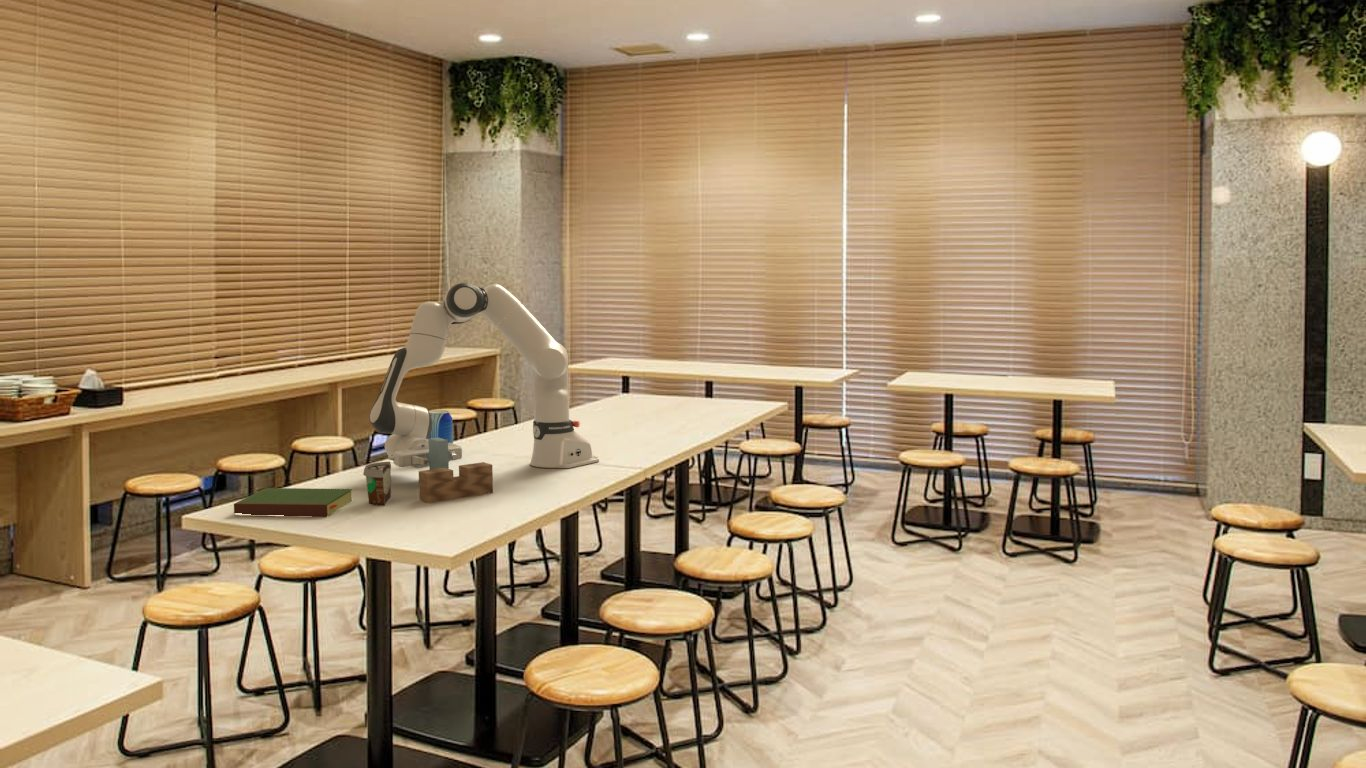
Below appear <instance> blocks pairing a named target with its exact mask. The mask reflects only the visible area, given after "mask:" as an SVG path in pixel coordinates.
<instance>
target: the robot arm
mask: <svg viewBox="0 0 1366 768" xmlns="http://www.w3.org/2000/svg"><path fill="white" fill-rule="evenodd" d="M477 315H480V316H483V317H485V318H486V319H487V320H488V321H489V322H491V323H492V325H493V326H494V327H495V328H496V329H497V330H498V331H499V332H500V333H501V334H502V335H503V337H505V339H506V340H507V341H508V342H509V343H510V344H511V346H513V347H514V348H515V350H516V351H517V352H518V354H519V355H520V356H521V357H522V358H523V359H524V360H525V361H526V363H528V365H529V366H530V367H531V368H532V370H533V405H534V407H533V408H534V409H533V410H534V415H533V416H534V420H533V422H532V423H533V424H532V433H533V447H532V448H533V449H532V454H531V459H530V463H529V465H531V466H533V467H536V468H550V469H551V468H556V469H557V468H558V469H571V468H575V467H579V466H584V465H588V464H589V465H590V464H594V463H598V462H600V458H599V457H598V456H596V455H593V451H592V446H591V443H590V441H588V440H587V439H586V438H584V437H583V436H582V435H580V434H579V433H578V432H576V431H575V429H574V427H576V428H579V427H580V426H581V422H580V421H579V420H571V419H570V394H569V393H570V392H569V391H570V389H569V380H570V379H569V378H570V377H569V356H568V355H569V354H568V351H567V349H566V348H565V347H564V346H563V344H561V343H560V342H557V340H555V339H554V338H553V337H552V336H551V334H550V333H549V332H548V331H547V330H546V328H545V327H544V326H543V325H542V323H541V322H540V321H539V320H538V319H537V318H536V317H535V316H534V315H533V314H532V313H531V312H530V310H528V308H526V306H525V305H524V304H523V303H522V302H521V301H520V300H519V299H518V298H517V297H516V296H515V295H514V294H512V293H511V292H510V291H509V290H508V289H506V288H505V287H504V286H502V285H501V284H499V283H492V284H489V285H487V286H485V287H481V286H477V285H474V284H472V283H469V282H459V283H456V284H454V285H453V286H452V287H450V288H449V289H448V291H447V292H446V293H445V294H444V297H443V299H442V300H440V301H438V302H436V301H426V302H422V303H421V304H420V305H418V307H417V309H416V312H415V314H414V316H413V320H412V323H411V327H410V330H409V331H410V332H409V336H408V339H407V341H406V343H405V345H404V346H403V347H402V348H399V349H397V351H396V352H395V353H394V355H393V356H392V359H391V361H390V364H389V366H388V369H387V371H386V375H385V377H384V380H383V383H382V385H381V388H380V391H379V393H378V396H377V398H376V399H375V402H374V403H373V405H372V407H371V410H370V414H369V422H370V425H371V427H372V428H373V429H374V430H375V431H376V432H377V433H379V434H390V435H389V436H388V437H387V438H386V440H385V443H384V450H385V452H386V454H387V459H388V460H389V461H392V462H393V465H395V466H397V467H399V468H406V467H412V468H416V469H424V468H426V467H428V466H429V439H428V438H429V436H430V434H431V431H432V425H433V421H432V417H431V415H430V413H429V412H430V411H429V410H428V408H427V407H425V406H424V407H423V406H421V405H420V406H419V405H417V404H416V405H415V404H409V403H405V402H404V403H403V402H398V401H397V400H396V398H397V395H398V392H399V389H400V388H401V384H402V382H403V379H404V377H405V375H406V374H407V373H408V372H409V371H411V370H413V369H416V368H424V367H428V366H432V365H433V364H435V363H438V361H439V360H441V358H442V357H443V355H444V352H445V348H446V344H447V337H448V336H447V335H448V333H449V328H450V326H451V325H460V324H464V323H468V322H469V321H471V320H473V319H474V318H475V317H477ZM462 458H463V449H462V446H461V445H458V444H455V443H453V444H452V443H448V461H449V462H450V461H452V462H453V461H457V460H461V459H462Z"/></svg>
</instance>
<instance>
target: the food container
mask: <svg viewBox="0 0 1366 768" xmlns="http://www.w3.org/2000/svg"><path fill="white" fill-rule="evenodd" d="M391 469H392V464H391V461H379V462H374V463H369V464H367V465H365V466H364V468H363V476H364V477H365V480H366V488H367V489H366V490H367V498H368V505H369V504H370V505H371V506H377V507H378V506H383V507H384V506H386V505H387V503H389V501H390V500H391V498H392V482H391V481H392V480H391V479H392V476H391V475H392V474H391V473H392V472H391V471H392V470H391Z"/></svg>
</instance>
